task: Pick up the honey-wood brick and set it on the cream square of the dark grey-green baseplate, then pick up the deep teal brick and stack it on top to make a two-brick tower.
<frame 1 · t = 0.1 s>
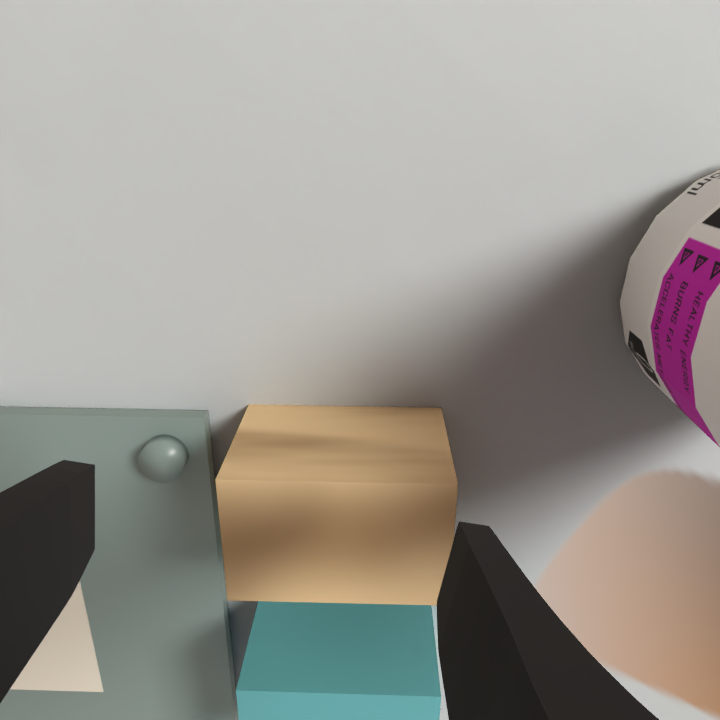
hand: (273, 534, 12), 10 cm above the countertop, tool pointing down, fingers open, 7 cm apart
baseplate: (16, 595, 26), on the countertop
honey-wood brick: (345, 458, 23), on the countertop
teal brick: (345, 628, 26), on the countertop
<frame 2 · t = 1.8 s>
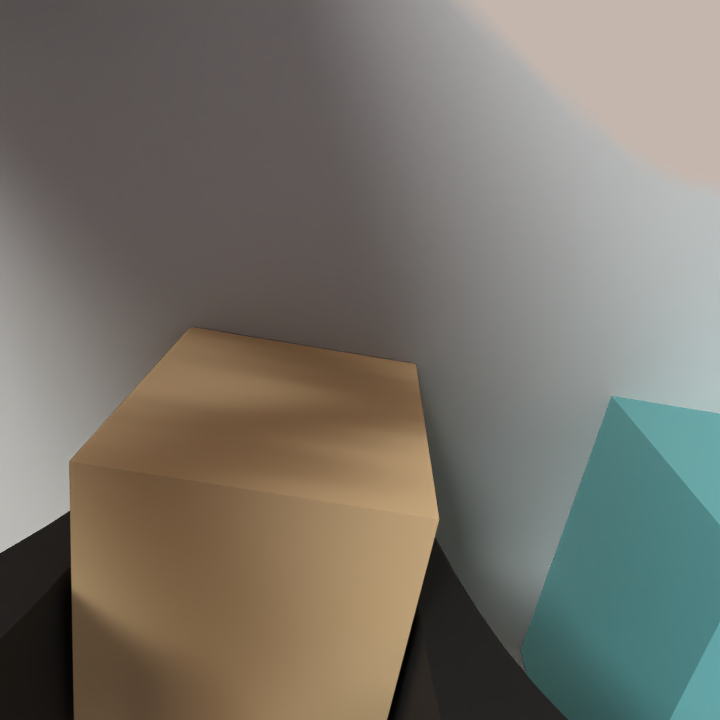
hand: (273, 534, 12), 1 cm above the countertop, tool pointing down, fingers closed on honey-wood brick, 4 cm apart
honey-wood brick: (283, 492, 13), on the countertop, touching gripper
teal brick: (657, 547, 14), on the countertop
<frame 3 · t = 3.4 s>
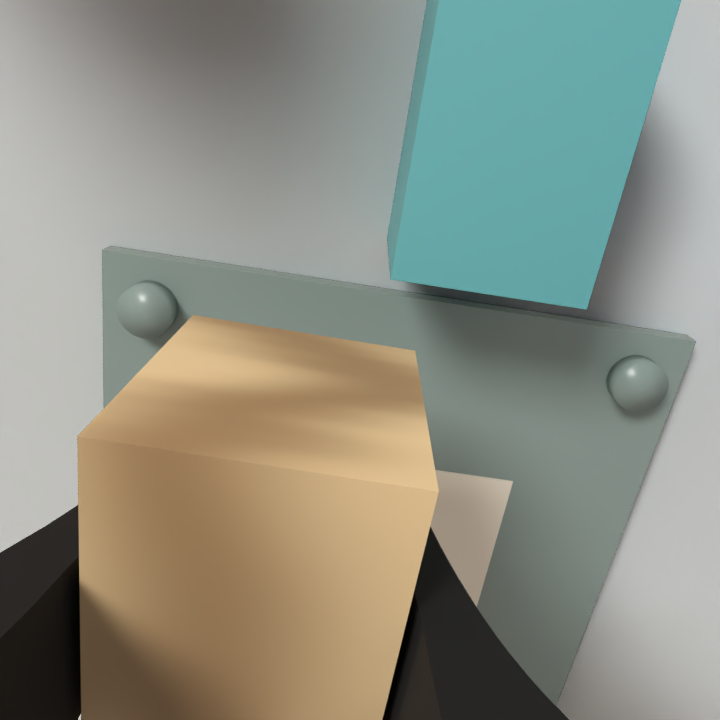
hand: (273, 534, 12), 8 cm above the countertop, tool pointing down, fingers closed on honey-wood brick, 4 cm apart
baseplate: (359, 528, 22), on the countertop
honey-wood brick: (284, 480, 13), point 7 cm above the countertop, touching gripper
teal brick: (486, 126, 17), on the countertop
when the fingers open (3 cm above the countertop, at t = 5.4 s): honey-wood brick stays where it is, resting on baseplate.
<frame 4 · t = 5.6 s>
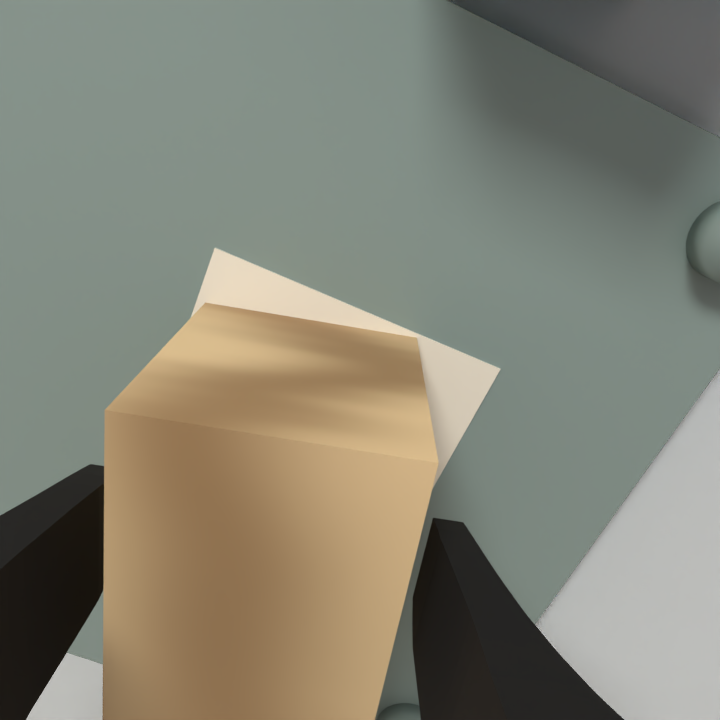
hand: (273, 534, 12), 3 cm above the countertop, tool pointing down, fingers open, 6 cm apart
baseplate: (248, 398, 14), on the countertop
honey-wood brick: (291, 461, 14), point 1 cm above the countertop, touching baseplate
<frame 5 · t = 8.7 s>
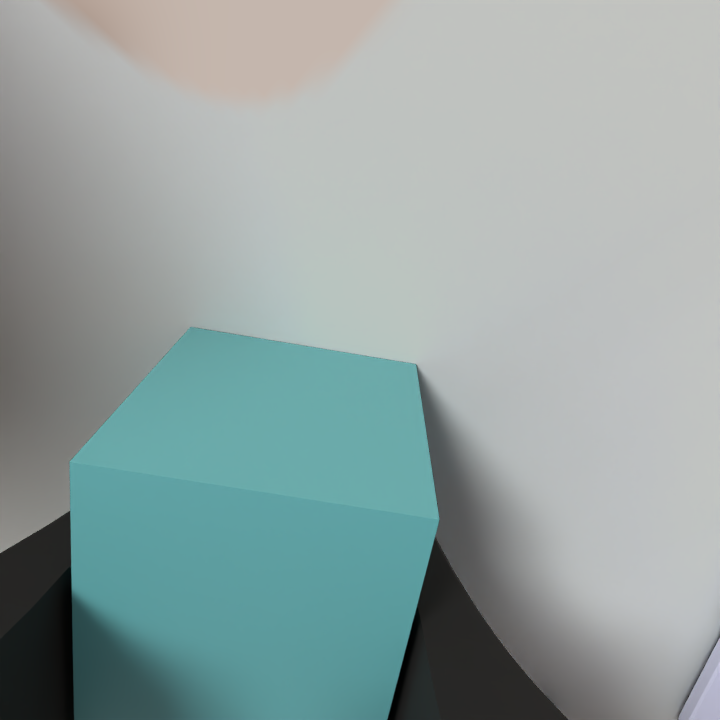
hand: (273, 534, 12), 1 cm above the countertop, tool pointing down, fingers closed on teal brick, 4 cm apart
teal brick: (283, 493, 13), on the countertop, touching gripper
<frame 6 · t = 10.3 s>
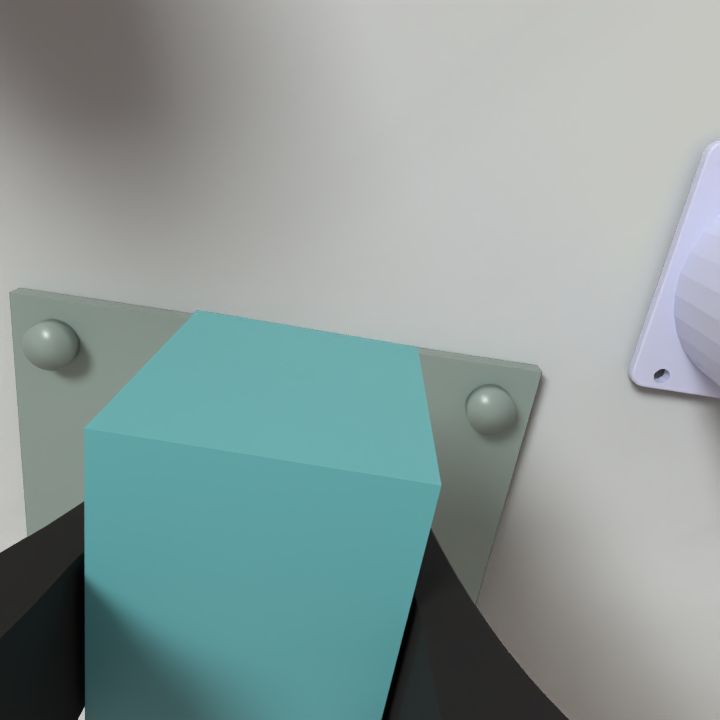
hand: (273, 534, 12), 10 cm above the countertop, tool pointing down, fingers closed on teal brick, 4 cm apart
baseplate: (259, 537, 24), on the countertop
teal brick: (287, 475, 13), point 8 cm above the countertop, touching gripper
when the fingers open (8 cm above the countertop, at t = 11.7 s): teal brick stays where it is, resting on honey-wood brick.
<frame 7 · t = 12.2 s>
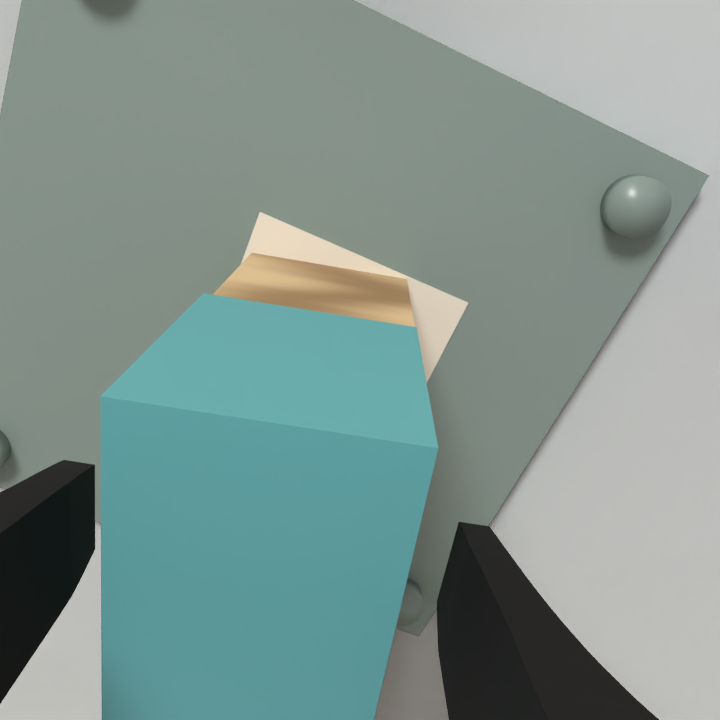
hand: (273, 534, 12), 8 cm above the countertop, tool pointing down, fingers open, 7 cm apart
baseplate: (280, 329, 19), on the countertop
honey-wood brick: (313, 376, 19), point 1 cm above the countertop, touching baseplate, teal brick
teal brick: (291, 453, 14), point 6 cm above the countertop, touching honey-wood brick
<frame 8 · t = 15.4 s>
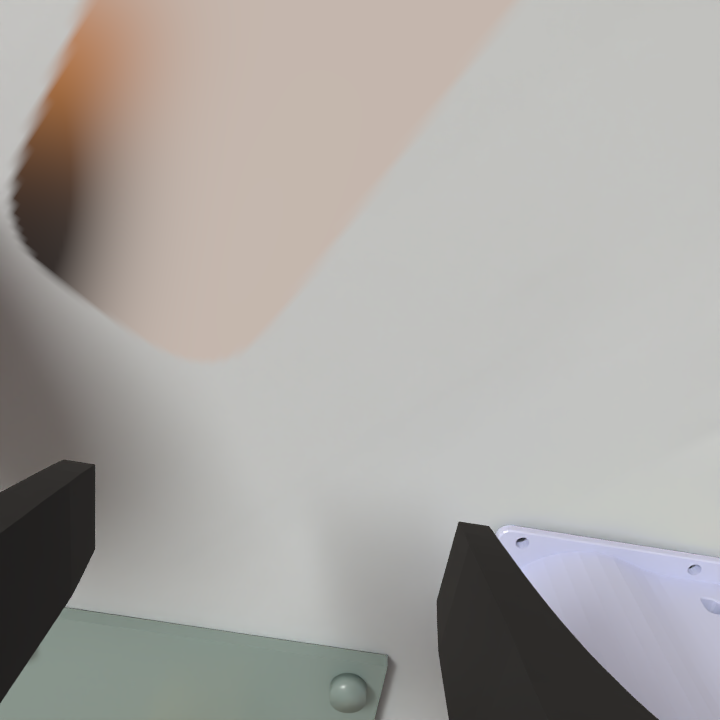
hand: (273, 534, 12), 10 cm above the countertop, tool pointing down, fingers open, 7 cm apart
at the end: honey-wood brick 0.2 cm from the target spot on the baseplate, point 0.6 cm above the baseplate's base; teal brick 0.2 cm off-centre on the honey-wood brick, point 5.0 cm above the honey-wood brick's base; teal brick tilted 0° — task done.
